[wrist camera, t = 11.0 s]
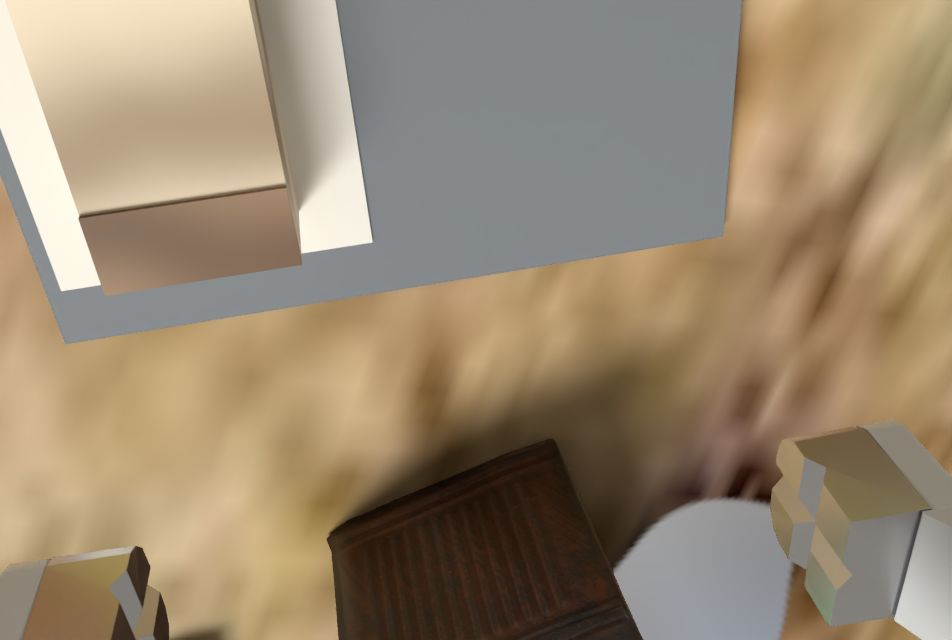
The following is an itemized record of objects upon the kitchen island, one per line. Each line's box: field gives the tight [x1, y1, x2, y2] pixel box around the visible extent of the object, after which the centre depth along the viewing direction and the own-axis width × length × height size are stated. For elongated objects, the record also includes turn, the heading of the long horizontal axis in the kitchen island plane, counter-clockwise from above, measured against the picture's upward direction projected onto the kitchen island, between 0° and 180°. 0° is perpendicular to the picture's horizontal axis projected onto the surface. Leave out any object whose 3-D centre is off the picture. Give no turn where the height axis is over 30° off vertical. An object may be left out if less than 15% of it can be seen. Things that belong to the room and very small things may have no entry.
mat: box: [0, 0, 742, 344], centre depth 27 cm, size 23×16×1 cm
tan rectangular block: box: [5, 0, 302, 296], centre depth 25 cm, size 9×6×4 cm, turn 5°
